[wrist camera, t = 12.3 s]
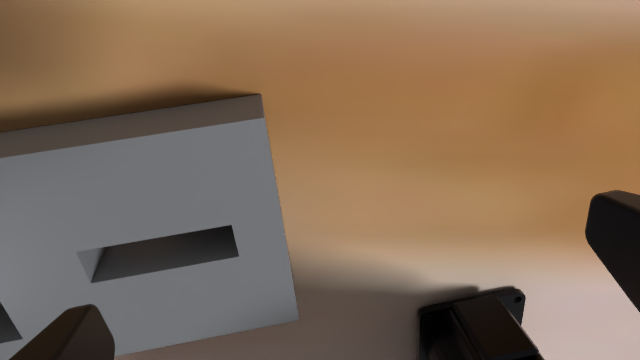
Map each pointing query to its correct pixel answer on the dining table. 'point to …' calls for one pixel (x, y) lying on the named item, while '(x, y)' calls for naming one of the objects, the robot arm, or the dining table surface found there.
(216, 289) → the socket plate
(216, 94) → the dining table surface
